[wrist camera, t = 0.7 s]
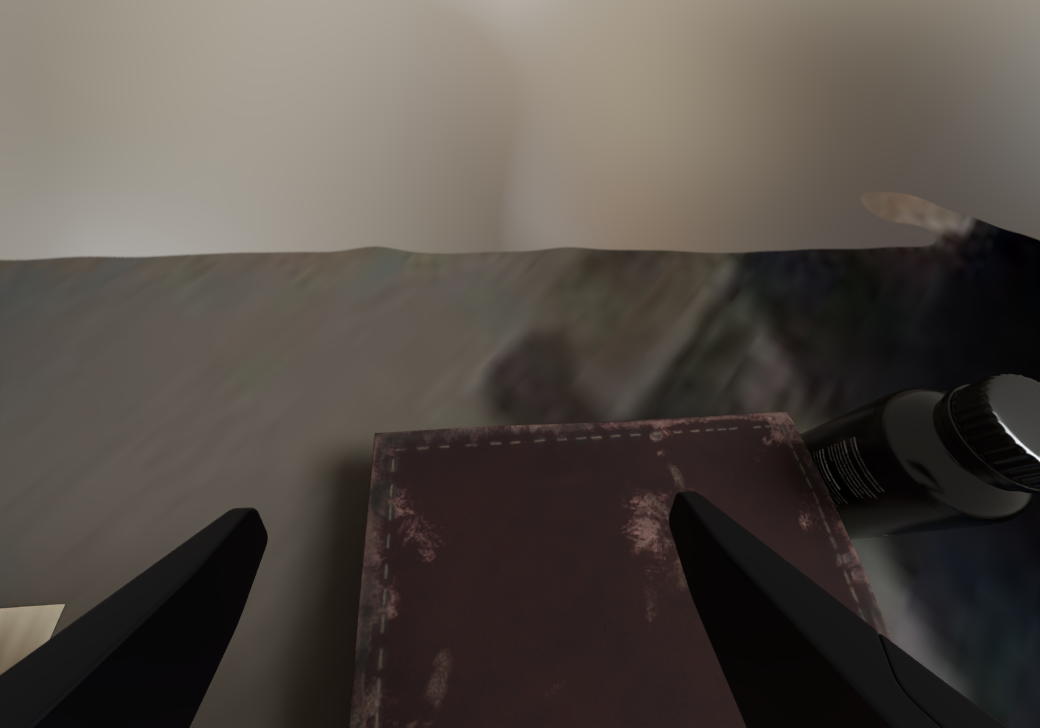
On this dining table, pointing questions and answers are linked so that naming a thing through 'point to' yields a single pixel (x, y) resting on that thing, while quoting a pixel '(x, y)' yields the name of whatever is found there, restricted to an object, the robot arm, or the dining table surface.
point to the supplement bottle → (933, 458)
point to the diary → (571, 570)
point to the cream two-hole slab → (25, 631)
